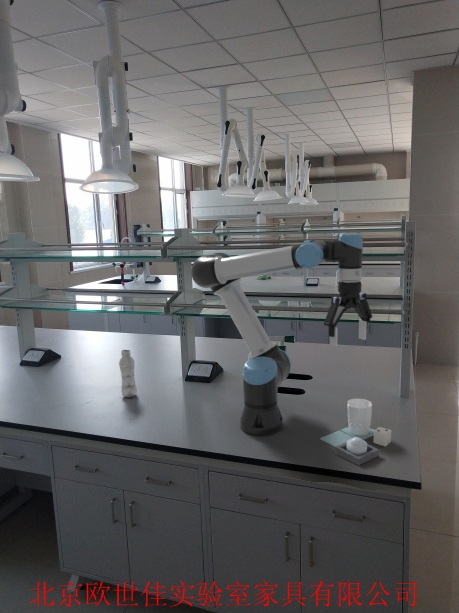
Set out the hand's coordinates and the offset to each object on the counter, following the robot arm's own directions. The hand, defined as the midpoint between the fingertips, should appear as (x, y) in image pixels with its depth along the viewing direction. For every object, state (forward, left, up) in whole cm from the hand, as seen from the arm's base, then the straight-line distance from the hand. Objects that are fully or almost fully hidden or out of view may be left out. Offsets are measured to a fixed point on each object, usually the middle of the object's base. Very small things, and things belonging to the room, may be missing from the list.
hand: (348, 342), depth 152 cm
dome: (+17, -15, -28) cm, 36 cm away
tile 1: (+8, -13, -29) cm, 32 cm away
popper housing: (+17, -15, -29) cm, 37 cm away
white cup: (+8, -3, -29) cm, 30 cm away
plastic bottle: (-72, -53, -29) cm, 94 cm away
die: (+17, -3, -29) cm, 34 cm away
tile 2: (+8, -3, -29) cm, 30 cm away
